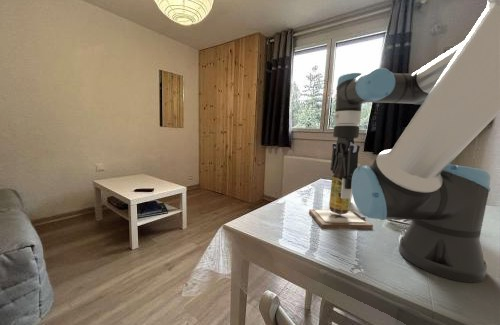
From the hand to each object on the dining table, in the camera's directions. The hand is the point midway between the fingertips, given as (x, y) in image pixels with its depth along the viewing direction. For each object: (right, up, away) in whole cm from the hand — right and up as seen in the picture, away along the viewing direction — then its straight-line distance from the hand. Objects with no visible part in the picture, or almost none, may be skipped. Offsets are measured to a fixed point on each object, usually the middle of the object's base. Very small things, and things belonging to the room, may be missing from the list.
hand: (340, 194), depth 71 cm
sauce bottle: (0, -6, +1) cm, 6 cm away
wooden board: (0, -9, +1) cm, 9 cm away
